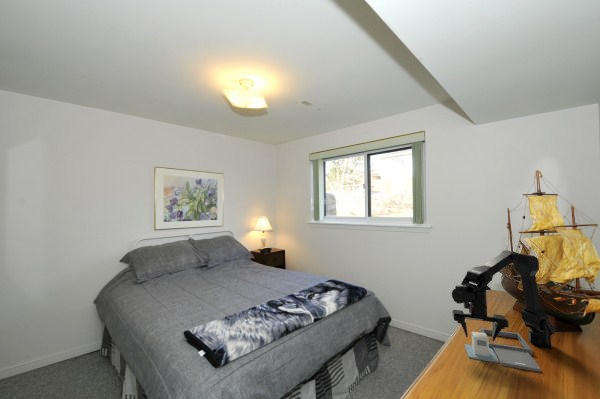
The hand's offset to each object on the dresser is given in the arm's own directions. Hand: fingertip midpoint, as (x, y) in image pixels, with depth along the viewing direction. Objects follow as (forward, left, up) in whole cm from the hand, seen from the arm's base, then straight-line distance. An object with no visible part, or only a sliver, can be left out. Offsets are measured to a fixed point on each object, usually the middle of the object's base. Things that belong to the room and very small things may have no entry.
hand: (479, 338), depth 110 cm
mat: (0, 0, -6) cm, 6 cm away
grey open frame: (-12, -7, -6) cm, 15 cm away
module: (0, 0, -5) cm, 5 cm away
